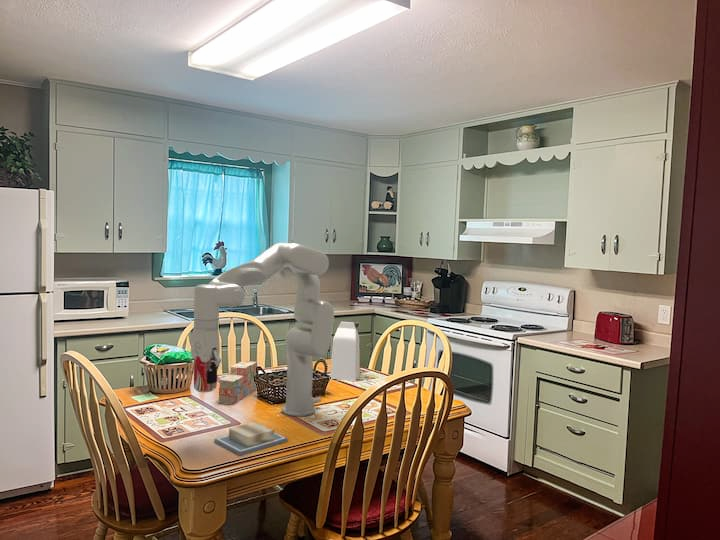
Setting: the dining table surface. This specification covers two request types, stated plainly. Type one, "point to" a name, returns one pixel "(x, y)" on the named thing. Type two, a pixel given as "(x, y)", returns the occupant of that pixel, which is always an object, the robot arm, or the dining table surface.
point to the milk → (345, 353)
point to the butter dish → (250, 438)
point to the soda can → (202, 376)
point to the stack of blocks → (238, 383)
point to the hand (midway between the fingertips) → (205, 379)
